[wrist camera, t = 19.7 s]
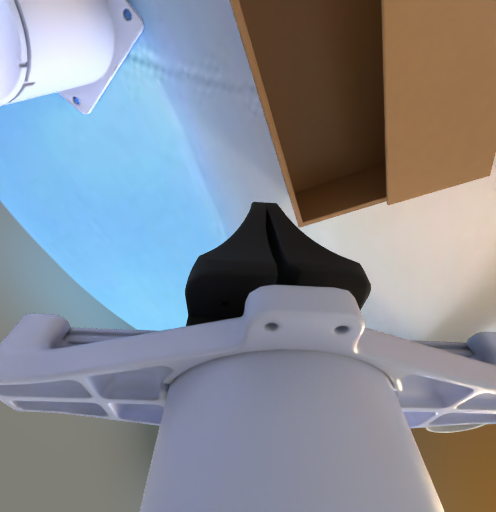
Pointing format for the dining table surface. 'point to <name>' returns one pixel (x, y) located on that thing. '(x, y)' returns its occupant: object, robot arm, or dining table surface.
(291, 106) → the carton
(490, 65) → the flap
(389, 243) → the dining table surface
